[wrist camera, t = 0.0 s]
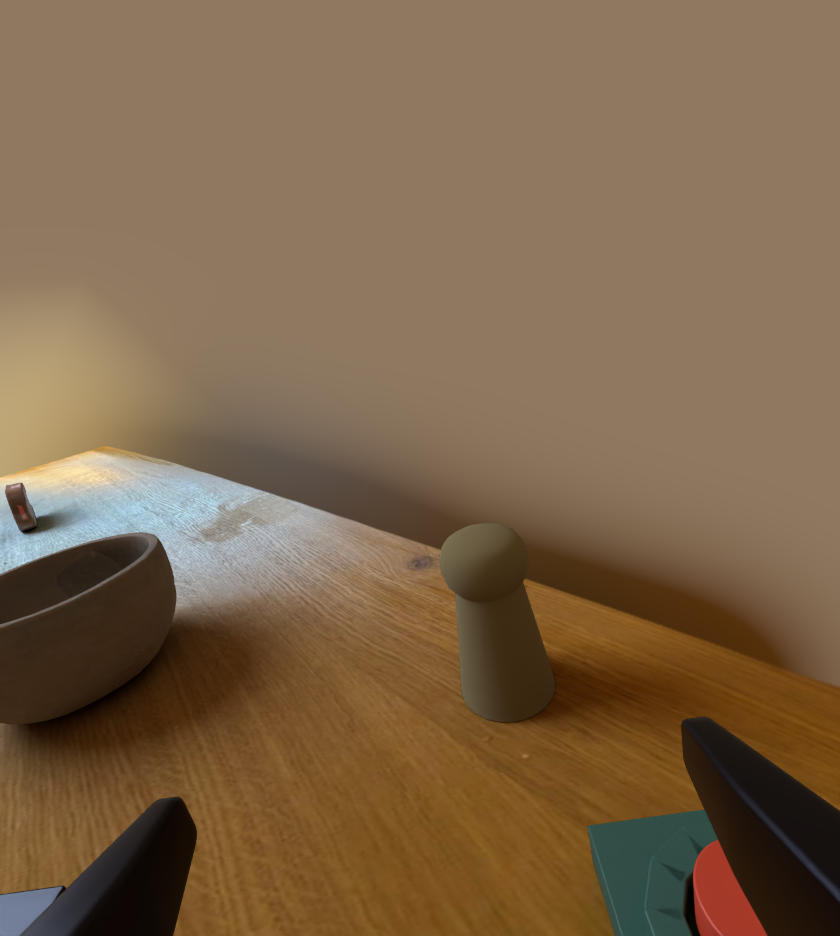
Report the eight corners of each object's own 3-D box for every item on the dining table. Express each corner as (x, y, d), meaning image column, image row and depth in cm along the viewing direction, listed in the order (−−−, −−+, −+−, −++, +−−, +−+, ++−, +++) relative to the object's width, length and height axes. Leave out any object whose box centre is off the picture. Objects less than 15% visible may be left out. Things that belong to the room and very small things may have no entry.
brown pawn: (444, 705, 32) (407, 554, 28) (486, 644, 36) (458, 508, 33) (534, 735, 28) (504, 567, 25) (568, 664, 33) (546, 514, 29)
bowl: (142, 601, 55) (106, 520, 52) (237, 633, 45) (198, 535, 42) (-55, 716, 42) (-118, 617, 39) (13, 801, 32) (-66, 675, 29)
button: (871, 1006, 14) (875, 966, 13) (736, 1020, 14) (735, 982, 13) (781, 865, 17) (782, 829, 16) (674, 878, 17) (671, 843, 17)
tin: (21, 521, 102) (2, 483, 100) (39, 514, 104) (21, 477, 102) (21, 536, 91) (0, 495, 88) (41, 529, 93) (21, 488, 90)
